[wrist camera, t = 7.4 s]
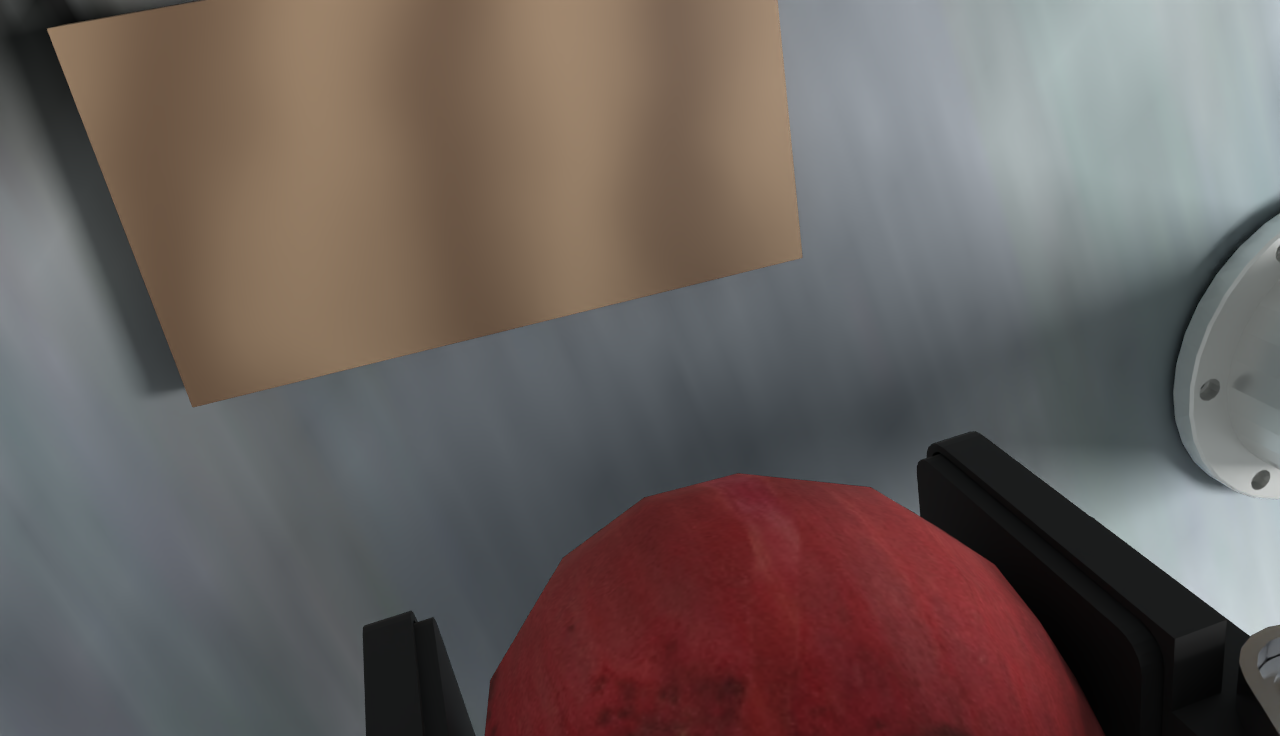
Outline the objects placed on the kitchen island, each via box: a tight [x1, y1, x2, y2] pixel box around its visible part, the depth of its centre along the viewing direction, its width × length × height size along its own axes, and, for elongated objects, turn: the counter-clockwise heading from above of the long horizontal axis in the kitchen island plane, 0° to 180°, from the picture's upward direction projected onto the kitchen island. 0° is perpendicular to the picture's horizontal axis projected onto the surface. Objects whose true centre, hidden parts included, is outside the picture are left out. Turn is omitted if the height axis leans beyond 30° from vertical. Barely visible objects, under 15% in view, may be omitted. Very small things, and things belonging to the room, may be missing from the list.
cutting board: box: [47, 0, 802, 407], centre depth 28 cm, size 18×10×2 cm, turn 100°
